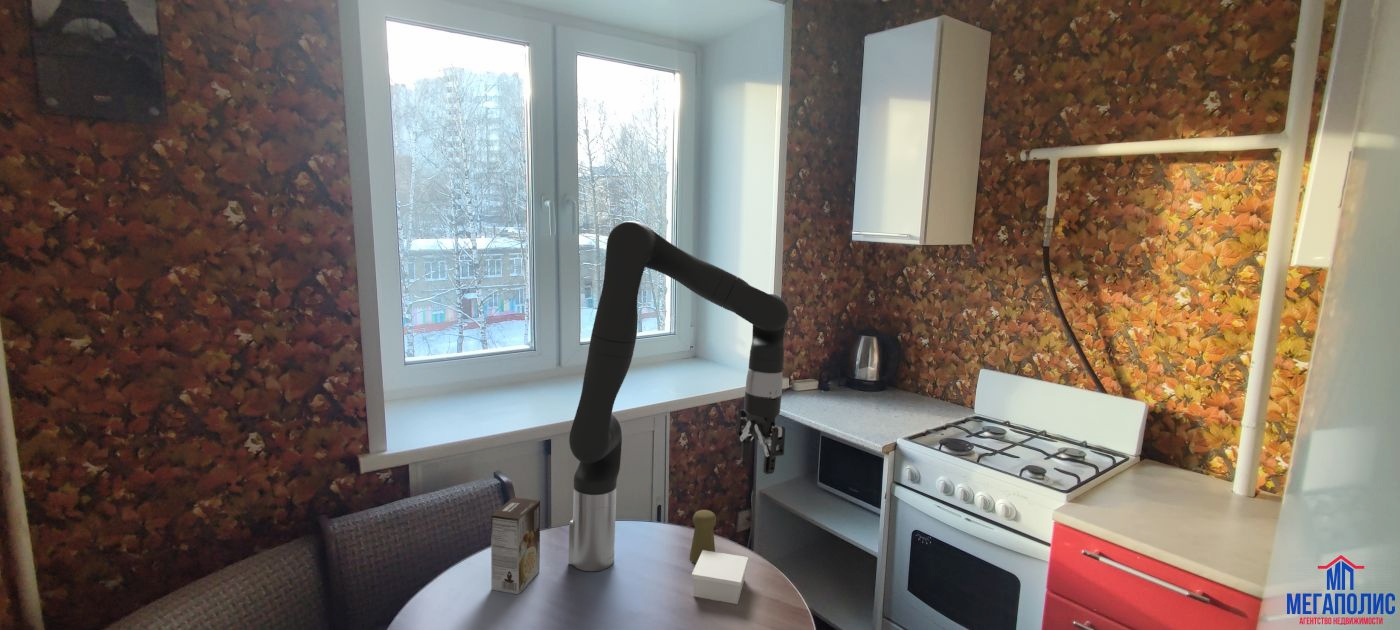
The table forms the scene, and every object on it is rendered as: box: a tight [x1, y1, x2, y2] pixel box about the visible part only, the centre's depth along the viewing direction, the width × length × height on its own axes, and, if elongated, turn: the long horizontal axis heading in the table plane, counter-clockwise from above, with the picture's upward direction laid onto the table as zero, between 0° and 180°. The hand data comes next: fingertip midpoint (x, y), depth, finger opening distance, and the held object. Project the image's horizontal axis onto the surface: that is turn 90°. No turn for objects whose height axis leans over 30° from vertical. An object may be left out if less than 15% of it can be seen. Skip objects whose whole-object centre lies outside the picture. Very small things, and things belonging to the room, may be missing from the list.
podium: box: [691, 550, 749, 605], centre depth 127 cm, size 10×10×5 cm
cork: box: [689, 509, 717, 565], centre depth 138 cm, size 6×6×11 cm
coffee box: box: [490, 497, 541, 595], centre depth 125 cm, size 9×6×16 cm
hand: (756, 465), depth 129 cm, fingers open, 8 cm apart
